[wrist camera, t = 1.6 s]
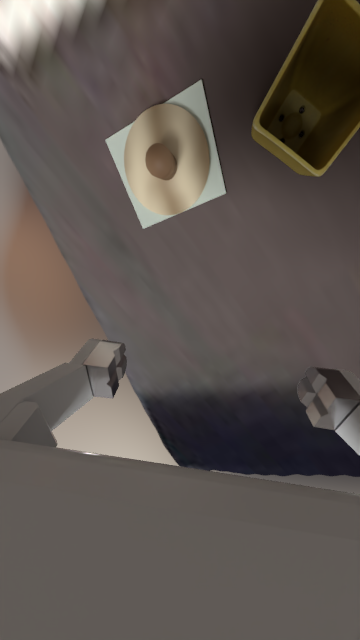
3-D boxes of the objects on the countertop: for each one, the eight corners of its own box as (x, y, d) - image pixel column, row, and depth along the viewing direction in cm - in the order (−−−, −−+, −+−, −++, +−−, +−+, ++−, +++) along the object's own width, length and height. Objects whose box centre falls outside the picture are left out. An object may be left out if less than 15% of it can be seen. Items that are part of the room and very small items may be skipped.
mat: (201, 81, 23) (201, 79, 23) (225, 193, 29) (226, 193, 28) (106, 140, 27) (105, 139, 27) (143, 228, 33) (143, 228, 32)
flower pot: (238, 146, 26) (250, 124, 18) (289, 52, 21) (333, -29, 14) (289, 184, 27) (320, 178, 20) (347, 104, 22) (416, 56, 15)
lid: (193, 84, 23) (189, 55, 18) (219, 196, 28) (220, 195, 24) (111, 136, 26) (90, 122, 22) (148, 226, 32) (137, 231, 27)
